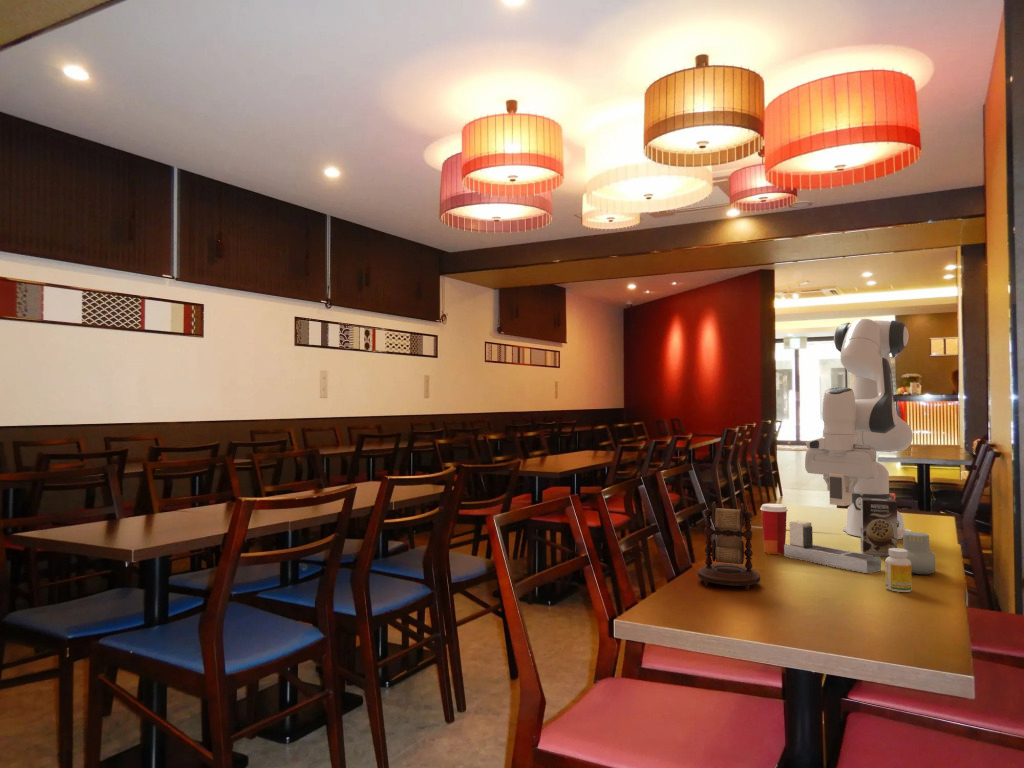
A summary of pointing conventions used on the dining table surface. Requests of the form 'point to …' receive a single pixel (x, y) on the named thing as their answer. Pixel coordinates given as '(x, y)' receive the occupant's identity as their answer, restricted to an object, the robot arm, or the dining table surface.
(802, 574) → the dining table surface
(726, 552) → the scroll
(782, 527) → the paper cup
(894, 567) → the supplement bottle
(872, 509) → the coffee box
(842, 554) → the rail
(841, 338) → the robot arm
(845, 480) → the cream upright block
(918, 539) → the air freshener
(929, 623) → the dining table surface
